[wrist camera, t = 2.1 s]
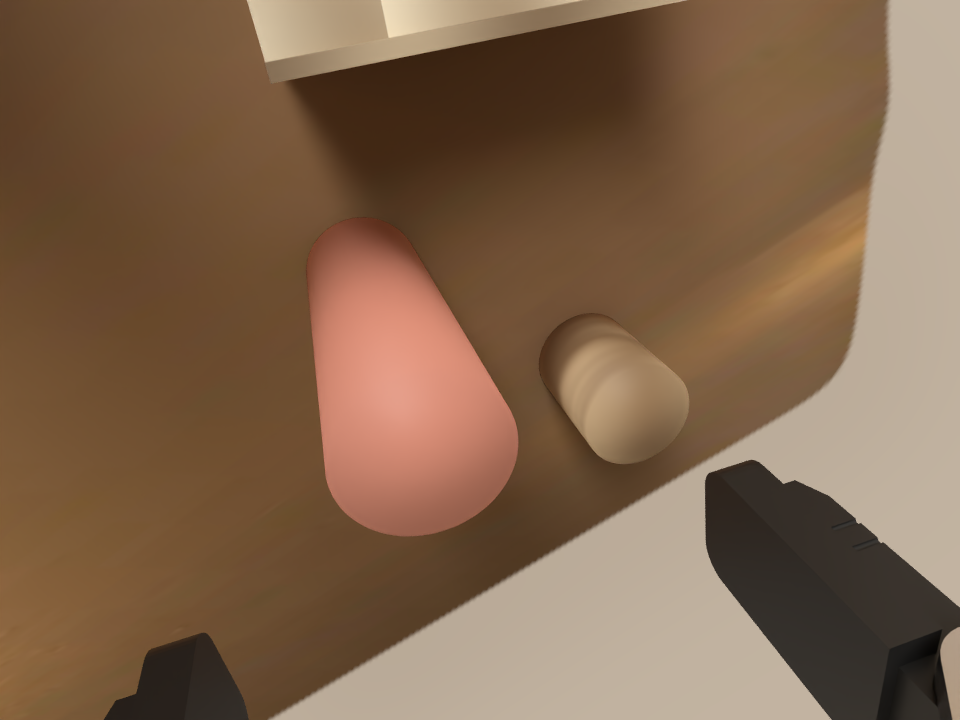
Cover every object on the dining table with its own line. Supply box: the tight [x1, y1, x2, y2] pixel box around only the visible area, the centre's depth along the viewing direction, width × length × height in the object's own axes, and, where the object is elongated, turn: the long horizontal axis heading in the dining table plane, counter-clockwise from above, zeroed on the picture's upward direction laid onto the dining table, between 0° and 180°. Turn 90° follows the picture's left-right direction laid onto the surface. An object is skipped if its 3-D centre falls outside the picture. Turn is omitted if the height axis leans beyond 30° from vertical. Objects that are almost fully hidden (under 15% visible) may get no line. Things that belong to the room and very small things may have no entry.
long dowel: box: [306, 217, 518, 536], centre depth 19 cm, size 4×4×12 cm
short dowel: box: [539, 313, 689, 464], centre depth 26 cm, size 4×4×5 cm
